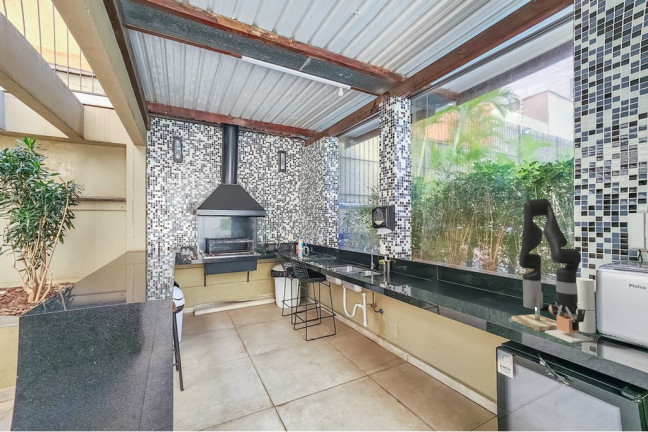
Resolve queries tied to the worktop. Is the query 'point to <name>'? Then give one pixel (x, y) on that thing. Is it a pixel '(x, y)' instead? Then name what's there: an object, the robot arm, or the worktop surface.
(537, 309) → the post
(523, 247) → the robot arm
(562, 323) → the collar
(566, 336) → the pad
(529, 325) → the stand base
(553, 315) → the decorative fruit
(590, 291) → the cylindrical container
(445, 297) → the worktop surface
